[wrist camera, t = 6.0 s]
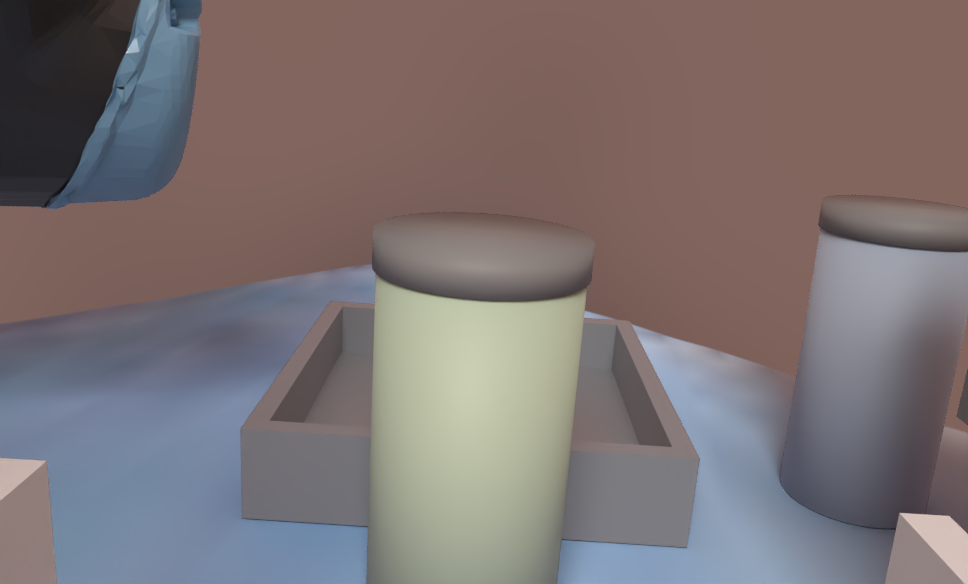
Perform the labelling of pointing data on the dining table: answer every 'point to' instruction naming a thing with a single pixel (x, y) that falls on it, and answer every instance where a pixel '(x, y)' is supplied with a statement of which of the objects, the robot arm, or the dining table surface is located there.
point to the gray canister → (877, 357)
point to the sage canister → (473, 396)
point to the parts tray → (347, 437)
